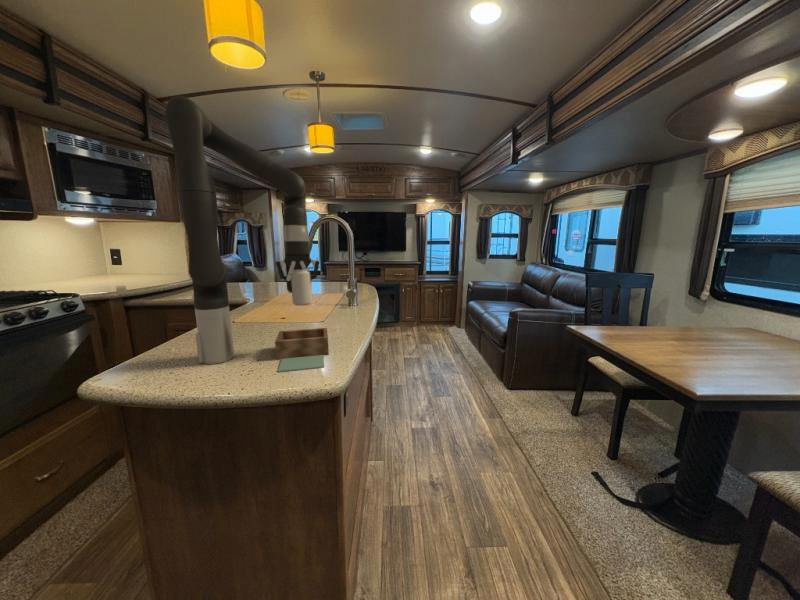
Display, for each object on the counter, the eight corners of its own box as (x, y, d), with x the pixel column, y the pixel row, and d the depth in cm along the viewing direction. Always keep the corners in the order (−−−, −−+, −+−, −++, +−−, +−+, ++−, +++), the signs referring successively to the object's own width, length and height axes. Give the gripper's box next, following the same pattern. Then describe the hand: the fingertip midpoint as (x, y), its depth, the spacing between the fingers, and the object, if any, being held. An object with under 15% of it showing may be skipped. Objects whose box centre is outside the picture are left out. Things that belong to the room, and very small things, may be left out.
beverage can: (306, 306, 100) (304, 269, 98) (288, 305, 101) (286, 269, 99) (315, 302, 106) (313, 268, 104) (298, 302, 107) (296, 268, 105)
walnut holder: (276, 359, 98) (275, 341, 97) (280, 347, 110) (279, 331, 109) (328, 354, 103) (327, 337, 102) (327, 343, 114) (326, 327, 113)
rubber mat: (278, 372, 89) (277, 371, 89) (281, 359, 98) (281, 358, 98) (324, 367, 92) (324, 366, 92) (323, 356, 101) (323, 354, 101)
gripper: (271, 239, 94) (275, 294, 97) (319, 240, 98) (322, 292, 101) (274, 240, 101) (278, 291, 104) (319, 240, 105) (321, 289, 108)
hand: (299, 291), depth 103 cm, fingers closed on beverage can, 5 cm apart
